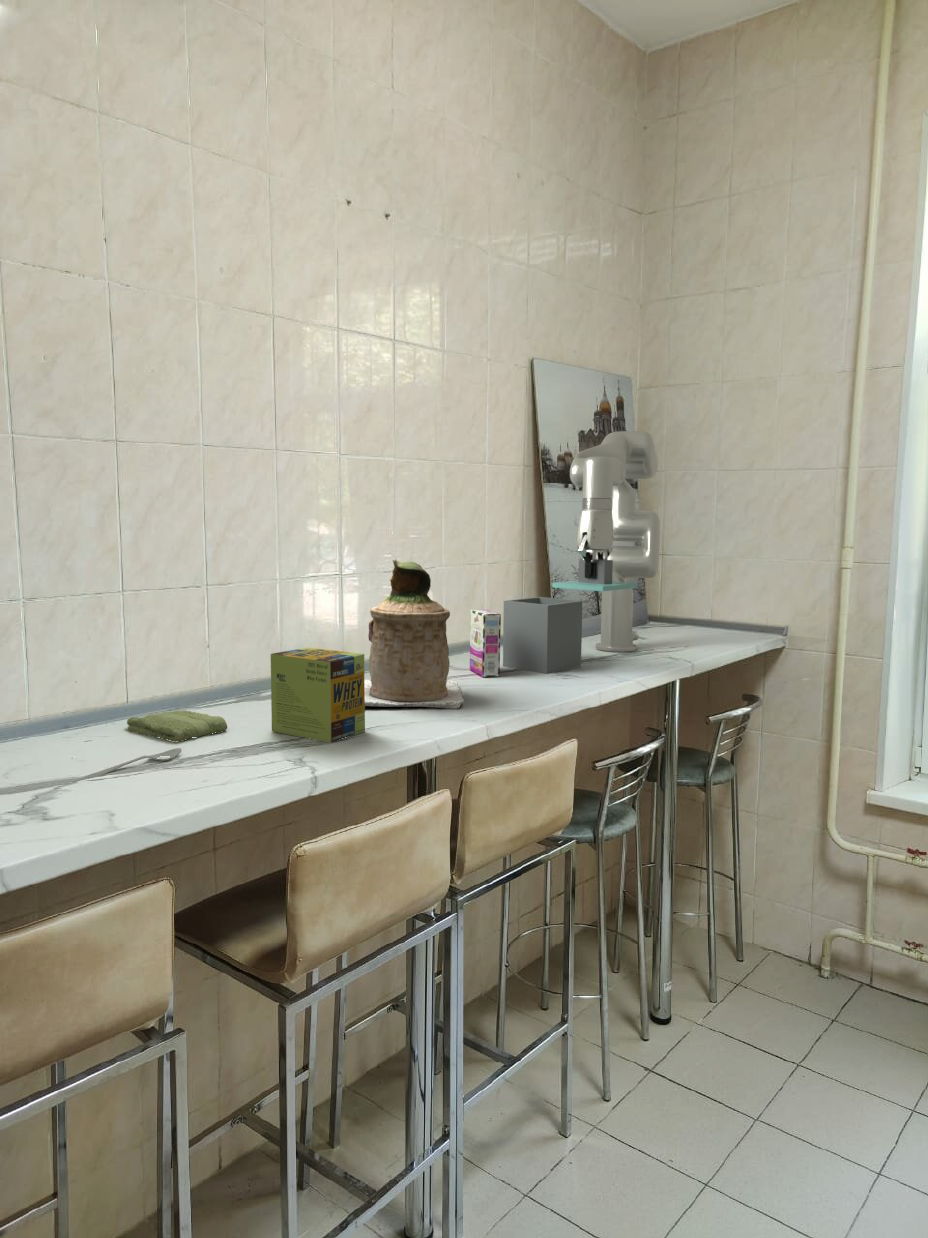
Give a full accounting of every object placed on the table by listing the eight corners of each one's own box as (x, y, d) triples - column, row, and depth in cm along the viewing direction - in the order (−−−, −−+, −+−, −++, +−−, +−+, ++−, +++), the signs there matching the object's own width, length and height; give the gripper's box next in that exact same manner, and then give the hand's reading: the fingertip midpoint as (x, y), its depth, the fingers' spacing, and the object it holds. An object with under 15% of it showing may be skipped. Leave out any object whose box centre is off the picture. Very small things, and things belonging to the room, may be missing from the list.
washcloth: (179, 718, 185) (179, 703, 185) (232, 733, 174) (231, 716, 174) (121, 731, 175) (120, 715, 174) (173, 747, 164) (172, 730, 164)
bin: (537, 659, 255) (538, 596, 253) (580, 666, 245) (582, 601, 242) (502, 666, 244) (503, 600, 242) (546, 673, 234) (547, 605, 232)
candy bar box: (501, 677, 229) (501, 613, 227) (482, 678, 228) (483, 614, 225) (486, 669, 240) (487, 608, 237) (468, 670, 238) (469, 609, 236)
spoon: (187, 758, 156) (187, 749, 156) (73, 786, 141) (72, 776, 140) (174, 754, 159) (174, 745, 159) (60, 781, 143) (60, 771, 143)
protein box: (331, 743, 165) (330, 661, 163) (270, 732, 173) (268, 653, 171) (366, 731, 174) (366, 653, 172) (307, 721, 182) (305, 646, 180)
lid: (587, 584, 240) (588, 557, 240) (637, 587, 230) (638, 560, 229) (552, 587, 229) (552, 559, 228) (602, 591, 219) (603, 561, 218)
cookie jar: (465, 709, 193) (466, 562, 189) (351, 711, 191) (350, 562, 187) (458, 686, 218) (459, 555, 213) (357, 687, 216) (356, 555, 212)
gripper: (603, 506, 236) (601, 575, 238) (565, 505, 224) (564, 578, 226) (627, 506, 231) (625, 577, 233) (590, 505, 219) (588, 580, 221)
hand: (595, 577), depth 229 cm, fingers closed on lid, 3 cm apart
